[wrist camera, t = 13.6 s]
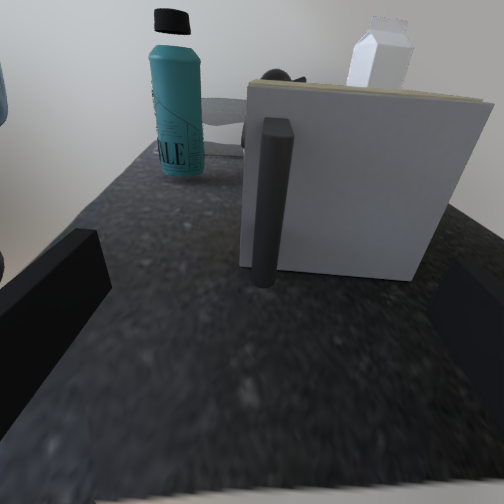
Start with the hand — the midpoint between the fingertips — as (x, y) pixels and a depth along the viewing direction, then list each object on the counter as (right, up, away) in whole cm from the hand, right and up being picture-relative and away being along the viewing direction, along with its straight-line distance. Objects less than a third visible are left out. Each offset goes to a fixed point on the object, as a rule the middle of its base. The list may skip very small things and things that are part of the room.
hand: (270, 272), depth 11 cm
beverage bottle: (-11, +12, +32) cm, 36 cm away
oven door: (+5, -3, +11) cm, 13 cm away
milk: (+17, +15, +40) cm, 46 cm away
